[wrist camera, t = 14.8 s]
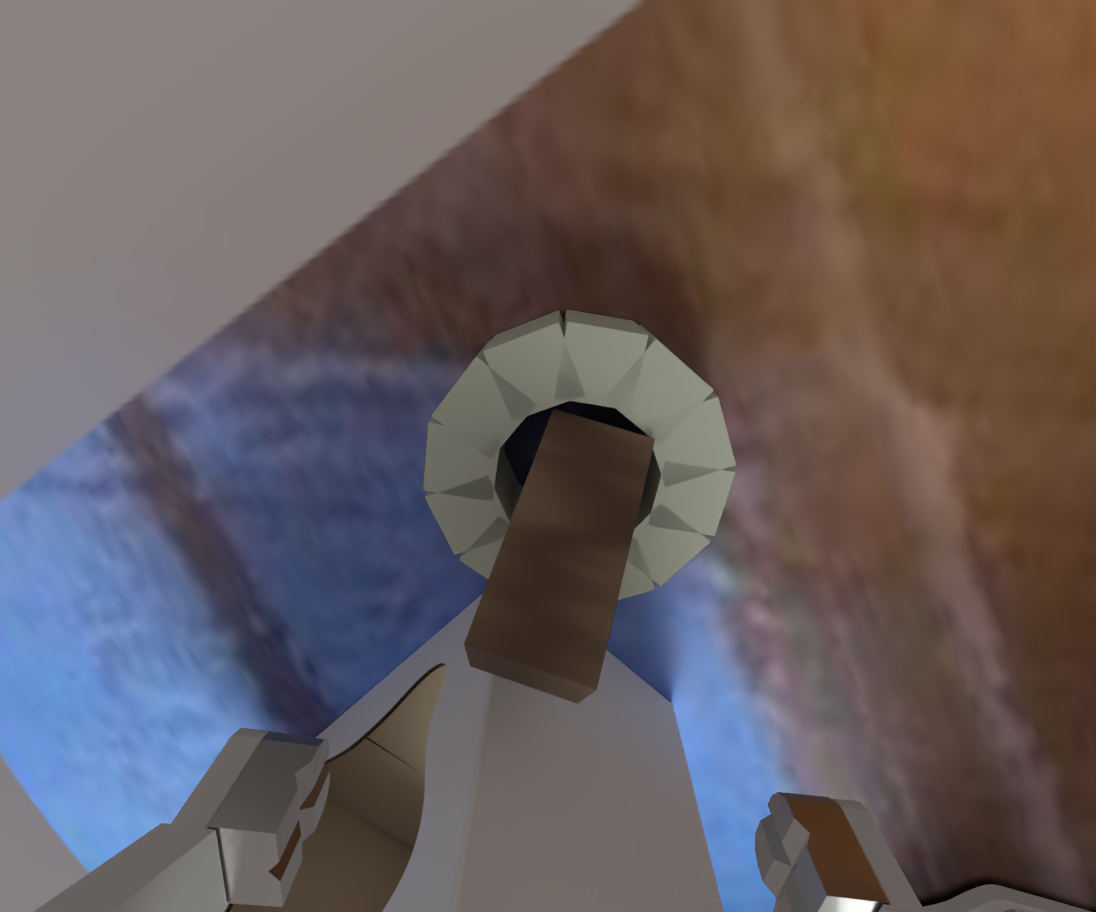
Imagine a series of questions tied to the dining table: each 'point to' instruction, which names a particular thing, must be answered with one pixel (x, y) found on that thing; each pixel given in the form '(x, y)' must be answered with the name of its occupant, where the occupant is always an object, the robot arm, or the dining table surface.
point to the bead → (594, 378)
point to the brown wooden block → (562, 560)
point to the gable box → (503, 798)
